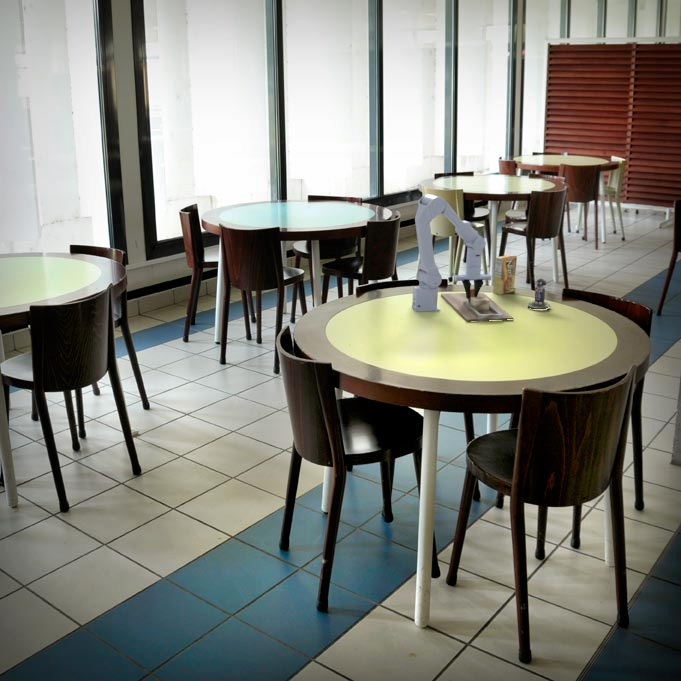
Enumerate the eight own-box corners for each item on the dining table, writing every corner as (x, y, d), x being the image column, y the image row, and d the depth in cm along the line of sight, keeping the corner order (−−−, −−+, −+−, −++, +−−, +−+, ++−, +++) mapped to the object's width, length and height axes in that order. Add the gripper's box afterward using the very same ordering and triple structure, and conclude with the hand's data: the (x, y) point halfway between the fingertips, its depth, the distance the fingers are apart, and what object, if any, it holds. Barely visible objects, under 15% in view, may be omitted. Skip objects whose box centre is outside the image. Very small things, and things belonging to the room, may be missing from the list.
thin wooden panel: (467, 322, 313) (467, 315, 312) (440, 296, 347) (441, 290, 346) (513, 320, 316) (513, 314, 315) (482, 294, 349) (483, 289, 349)
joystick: (473, 310, 323) (474, 298, 322) (463, 300, 337) (463, 288, 335) (489, 310, 324) (489, 297, 323) (477, 300, 338) (478, 288, 336)
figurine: (526, 304, 337) (529, 275, 333) (548, 305, 336) (551, 276, 332) (528, 310, 329) (531, 280, 325) (551, 311, 328) (553, 281, 324)
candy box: (506, 289, 358) (509, 254, 353) (514, 291, 355) (517, 256, 350) (492, 292, 353) (495, 257, 348) (500, 295, 350) (503, 258, 345)
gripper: (488, 261, 336) (485, 294, 340) (452, 262, 334) (451, 295, 338) (493, 266, 329) (491, 299, 334) (458, 267, 327) (456, 300, 332)
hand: (471, 298), depth 336 cm, fingers closed on joystick, 2 cm apart
